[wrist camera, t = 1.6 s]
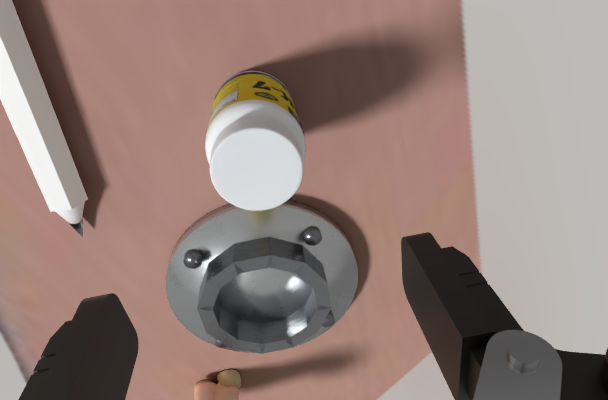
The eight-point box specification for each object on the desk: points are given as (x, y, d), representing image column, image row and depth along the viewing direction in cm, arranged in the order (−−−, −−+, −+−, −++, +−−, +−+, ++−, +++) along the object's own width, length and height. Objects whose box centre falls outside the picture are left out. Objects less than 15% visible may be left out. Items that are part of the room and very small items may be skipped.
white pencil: (88, 223, 28) (-24, -48, 20) (111, 228, 28) (5, -51, 19) (56, 245, 26) (-84, -46, 18) (80, 252, 26) (-55, -49, 17)
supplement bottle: (310, 108, 25) (336, 170, 18) (257, 160, 26) (261, 237, 19) (251, 50, 23) (253, 94, 16) (196, 109, 24) (176, 175, 17)
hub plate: (140, 219, 28) (128, 249, 25) (345, 180, 28) (356, 205, 25) (198, 354, 35) (194, 389, 32) (361, 322, 35) (370, 353, 33)
